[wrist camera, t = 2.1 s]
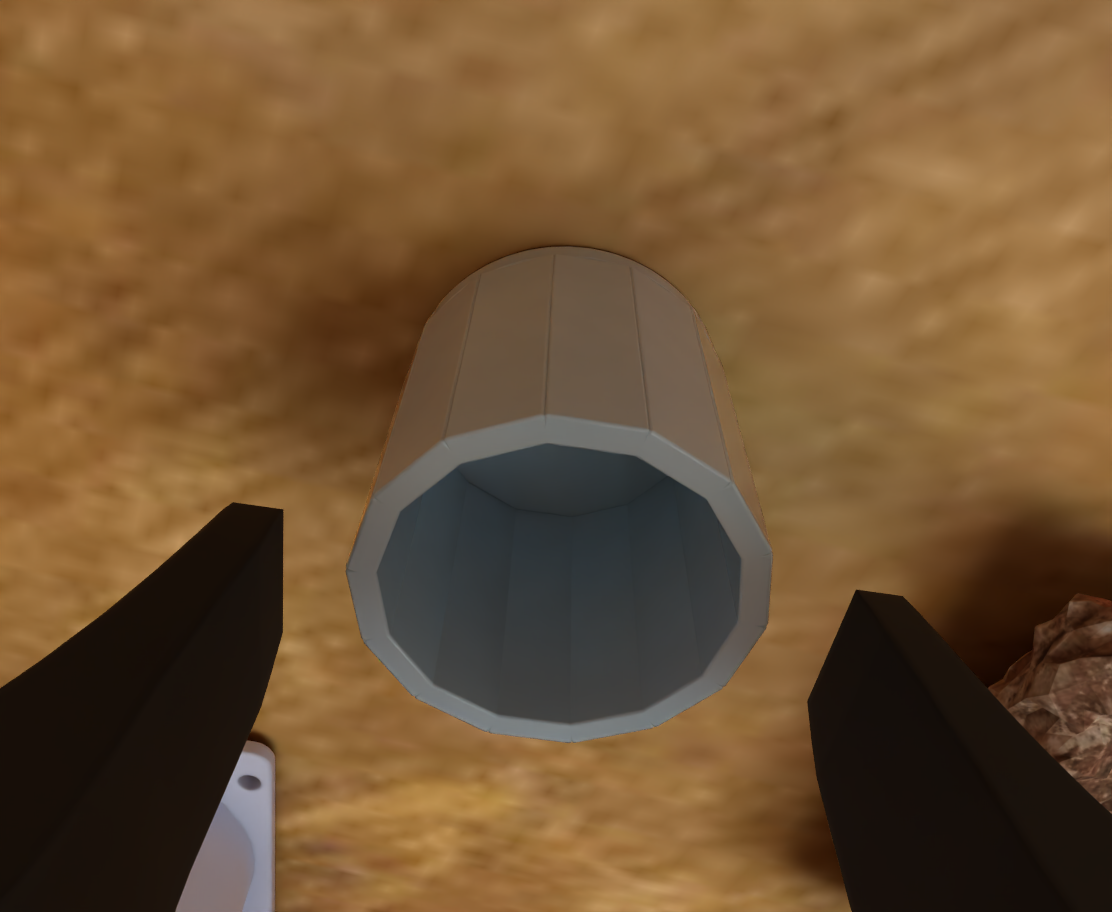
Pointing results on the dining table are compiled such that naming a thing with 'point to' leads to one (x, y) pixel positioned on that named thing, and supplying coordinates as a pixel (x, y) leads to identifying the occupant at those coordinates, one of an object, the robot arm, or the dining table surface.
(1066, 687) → the rock
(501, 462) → the cup
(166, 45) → the dining table surface
